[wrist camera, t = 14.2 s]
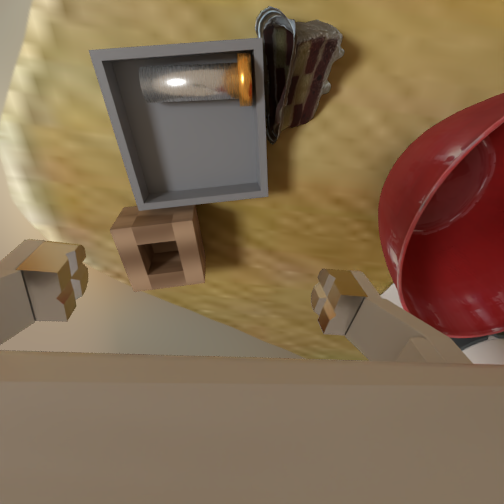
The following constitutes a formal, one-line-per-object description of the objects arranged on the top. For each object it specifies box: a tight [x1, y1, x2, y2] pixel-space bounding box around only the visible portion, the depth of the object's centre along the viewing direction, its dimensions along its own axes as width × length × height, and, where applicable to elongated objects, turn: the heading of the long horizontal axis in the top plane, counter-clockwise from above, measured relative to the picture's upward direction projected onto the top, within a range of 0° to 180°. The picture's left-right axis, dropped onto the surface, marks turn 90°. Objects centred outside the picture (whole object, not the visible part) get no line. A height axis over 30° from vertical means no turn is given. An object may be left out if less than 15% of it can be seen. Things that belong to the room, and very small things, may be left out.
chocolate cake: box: [255, 6, 344, 145], centre depth 29 cm, size 10×7×12 cm
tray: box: [89, 38, 268, 211], centre depth 30 cm, size 15×15×4 cm
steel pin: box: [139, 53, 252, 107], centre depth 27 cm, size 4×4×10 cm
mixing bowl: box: [378, 93, 504, 338], centre depth 33 cm, size 28×28×16 cm
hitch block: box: [110, 205, 205, 292], centre depth 36 cm, size 9×9×6 cm
